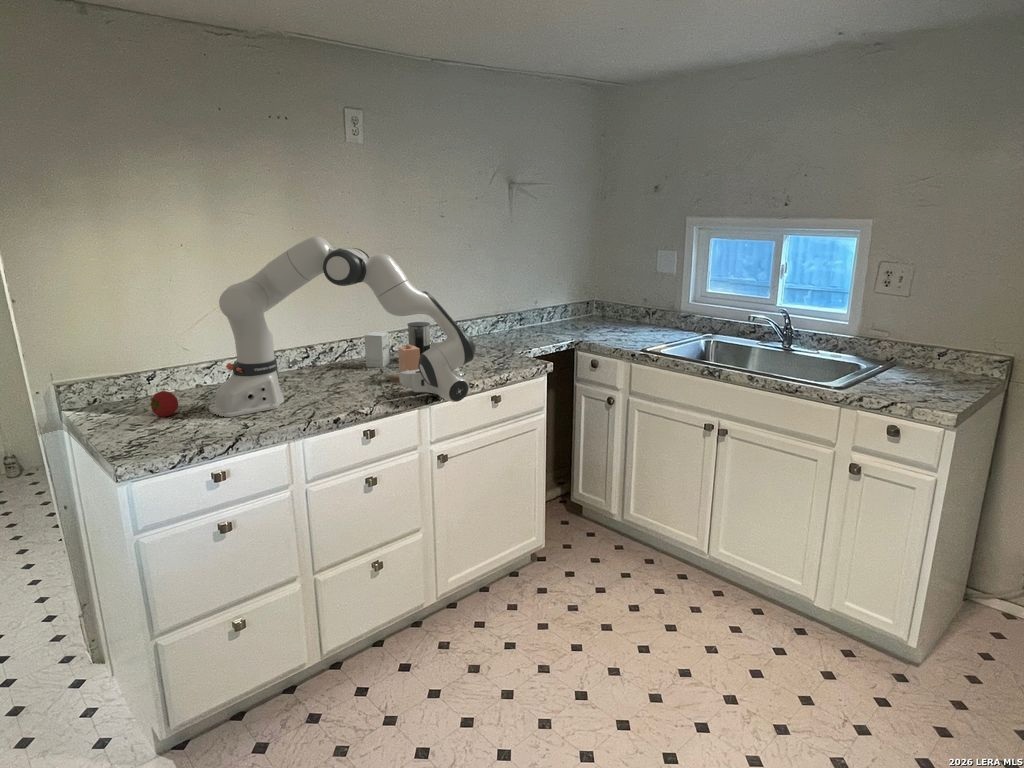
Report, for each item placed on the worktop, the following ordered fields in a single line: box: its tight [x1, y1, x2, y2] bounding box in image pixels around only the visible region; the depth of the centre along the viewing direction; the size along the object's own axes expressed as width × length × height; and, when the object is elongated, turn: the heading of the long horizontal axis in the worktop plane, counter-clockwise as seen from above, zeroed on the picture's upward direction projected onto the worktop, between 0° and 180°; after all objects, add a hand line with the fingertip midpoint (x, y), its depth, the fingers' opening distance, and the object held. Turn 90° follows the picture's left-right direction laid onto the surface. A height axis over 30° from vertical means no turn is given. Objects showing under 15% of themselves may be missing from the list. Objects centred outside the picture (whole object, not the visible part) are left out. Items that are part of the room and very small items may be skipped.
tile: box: [384, 373, 403, 386], centre depth 235 cm, size 14×14×1 cm
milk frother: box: [407, 321, 431, 355], centre depth 263 cm, size 14×16×15 cm
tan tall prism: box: [397, 344, 420, 374], centre depth 233 cm, size 6×6×12 cm
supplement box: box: [363, 331, 391, 368], centre depth 255 cm, size 7×7×13 cm
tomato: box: [149, 390, 179, 418], centre depth 196 cm, size 8×8×8 cm
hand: (421, 370), depth 224 cm, fingers open, 8 cm apart
